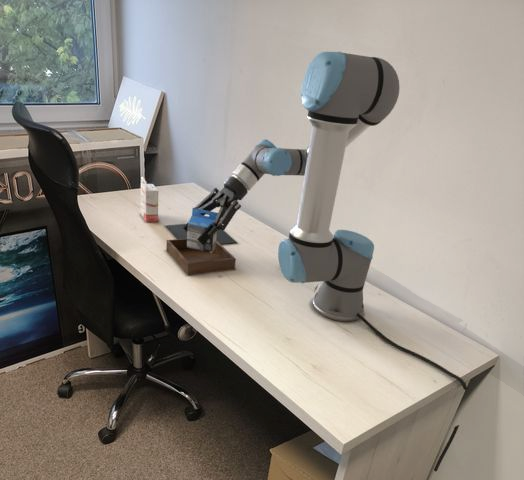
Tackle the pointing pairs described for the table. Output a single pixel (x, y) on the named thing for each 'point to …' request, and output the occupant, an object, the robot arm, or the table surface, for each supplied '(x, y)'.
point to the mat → (181, 234)
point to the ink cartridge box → (149, 201)
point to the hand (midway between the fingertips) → (192, 236)
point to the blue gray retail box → (200, 230)
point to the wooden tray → (200, 258)
